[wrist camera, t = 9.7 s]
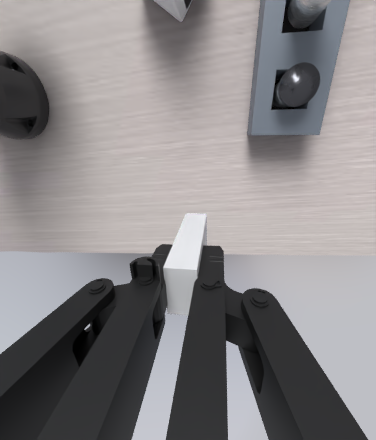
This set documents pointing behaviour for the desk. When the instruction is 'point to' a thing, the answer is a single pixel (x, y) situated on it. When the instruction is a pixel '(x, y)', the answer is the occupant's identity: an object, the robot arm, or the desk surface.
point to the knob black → (296, 86)
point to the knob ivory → (305, 12)
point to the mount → (289, 56)
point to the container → (175, 7)
